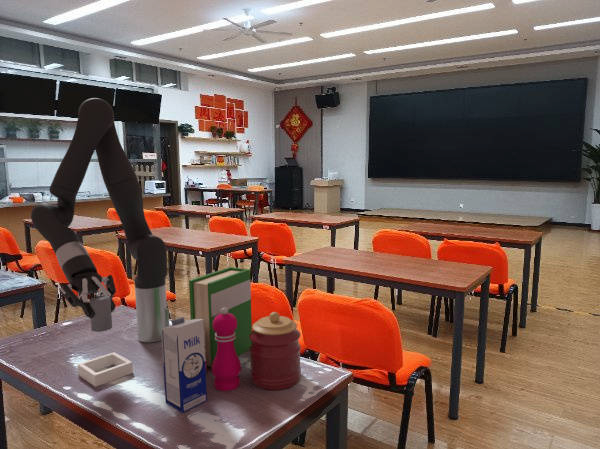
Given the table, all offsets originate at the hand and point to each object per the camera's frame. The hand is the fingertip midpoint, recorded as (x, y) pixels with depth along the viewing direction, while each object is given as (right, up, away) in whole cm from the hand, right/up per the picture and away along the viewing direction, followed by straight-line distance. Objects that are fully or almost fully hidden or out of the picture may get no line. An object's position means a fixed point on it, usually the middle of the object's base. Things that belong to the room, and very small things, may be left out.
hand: (102, 313), depth 117 cm
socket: (0, -17, +3) cm, 17 cm away
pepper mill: (+33, -17, -4) cm, 37 cm away
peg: (-1, -4, +1) cm, 4 cm away
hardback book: (+29, -15, +13) cm, 35 cm away
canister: (+45, -17, -1) cm, 48 cm away
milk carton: (+25, -18, -12) cm, 33 cm away
